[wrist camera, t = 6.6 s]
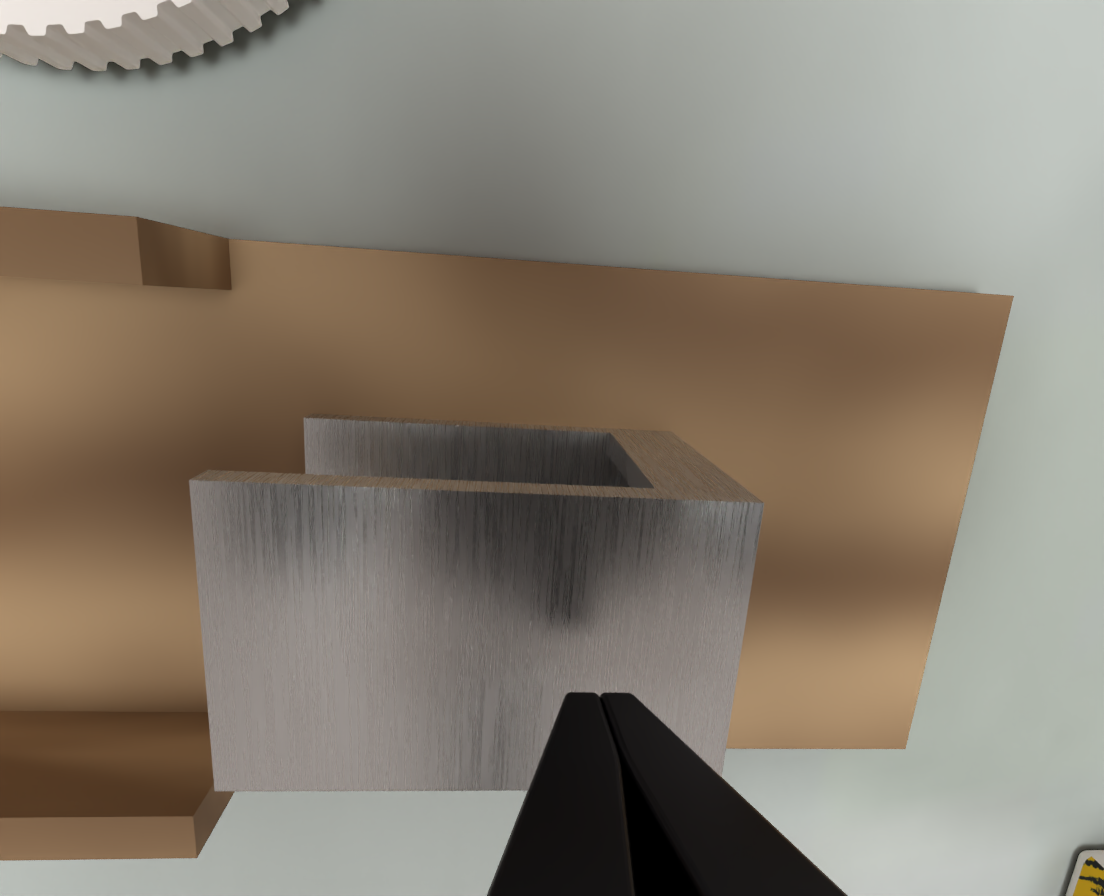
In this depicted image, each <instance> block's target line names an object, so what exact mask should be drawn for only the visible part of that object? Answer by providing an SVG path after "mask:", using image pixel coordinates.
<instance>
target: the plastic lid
mask: <svg viewBox="0 0 1104 896" xmlns="http://www.w3.org/2000/svg"><path fill="white" fill-rule="evenodd" d="M288 8H289V5H288V2H287V0H0V58H1V57H2V55H3V54H5V55H7V56H9V57H11V58H13V59H15V60H17V61H19V62H21V63H23V64H28V65H33V66H36V65H37V63H38V60H39V59H41V60H42V61H44V62H46V63H48V64H50V65H52V66H54V67H56V68H58V69H64V70H72V67H73V63H74V62H75V61H76V62H78V63H80V64H82V65H83V66H85V67H87V68H89V69H91V70H92V71H106V69H107V63H108V62H115V63H117V64H118V65H120V66H122V67H123V68H125V69H127V70H130V69H138V68H140V60H141V59H144V58H150V59H151V60H153V61H154V62H156V63H157V64H159V65H164V64H168V63H172V54H173V53H175V52H178V51H183V52H185V53H186V54H187V55H189V56H190V57H195V56H198V55H201V54H203V52H204V51H203V44H204V43H207V42H209V41H212V40H214V41H216V42H217V43H218V44H219V45H220V46H225V45H227V44H229V43H231V42H233V34H232V33H233V31H235V30H237V29H239V28H240V27H245V28H246V29H247V30H248V31H249V32H253V31H255V30H257V29H258V28H260V27H261V26H262V22H261V18H260V17H261V15H263V14H264V13H266V12H268V11H269V10H272V11H273V12H274V13H275V14H277V15H280V14H281V13H283V12H284V11H285V10H287V9H288Z"/></svg>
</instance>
